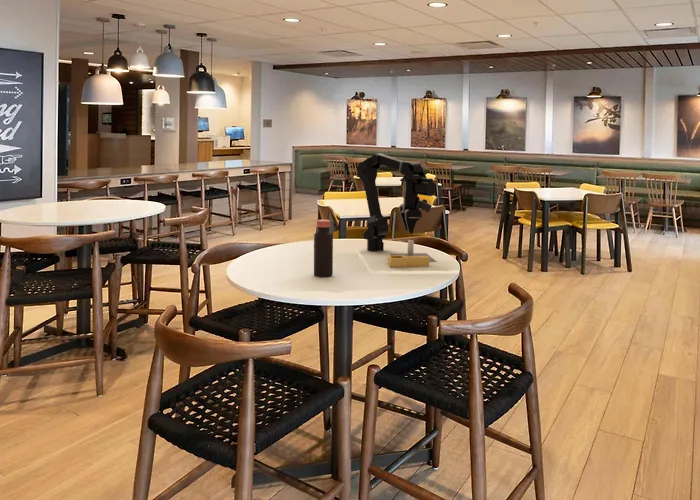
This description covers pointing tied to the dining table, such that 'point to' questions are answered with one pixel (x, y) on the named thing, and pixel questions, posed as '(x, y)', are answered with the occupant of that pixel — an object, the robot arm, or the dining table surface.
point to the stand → (410, 252)
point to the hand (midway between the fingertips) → (408, 231)
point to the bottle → (323, 250)
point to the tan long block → (407, 261)
